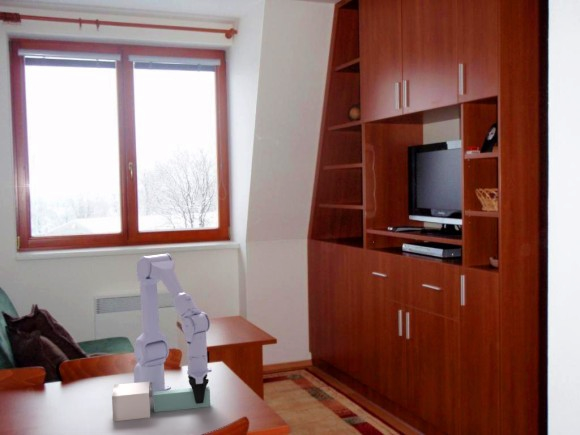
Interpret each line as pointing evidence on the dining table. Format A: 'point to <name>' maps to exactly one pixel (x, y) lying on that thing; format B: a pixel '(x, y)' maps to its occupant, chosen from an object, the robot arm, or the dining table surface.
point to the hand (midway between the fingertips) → (199, 401)
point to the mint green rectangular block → (178, 400)
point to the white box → (132, 401)
